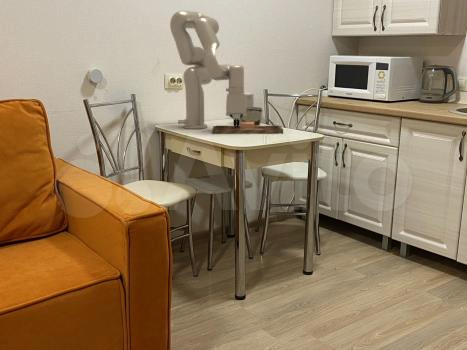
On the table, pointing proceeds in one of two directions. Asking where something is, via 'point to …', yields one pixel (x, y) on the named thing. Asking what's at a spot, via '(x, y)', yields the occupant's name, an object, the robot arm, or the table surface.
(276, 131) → the track
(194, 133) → the table surface
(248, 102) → the supplement box
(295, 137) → the table surface
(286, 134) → the table surface
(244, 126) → the block
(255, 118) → the food container
